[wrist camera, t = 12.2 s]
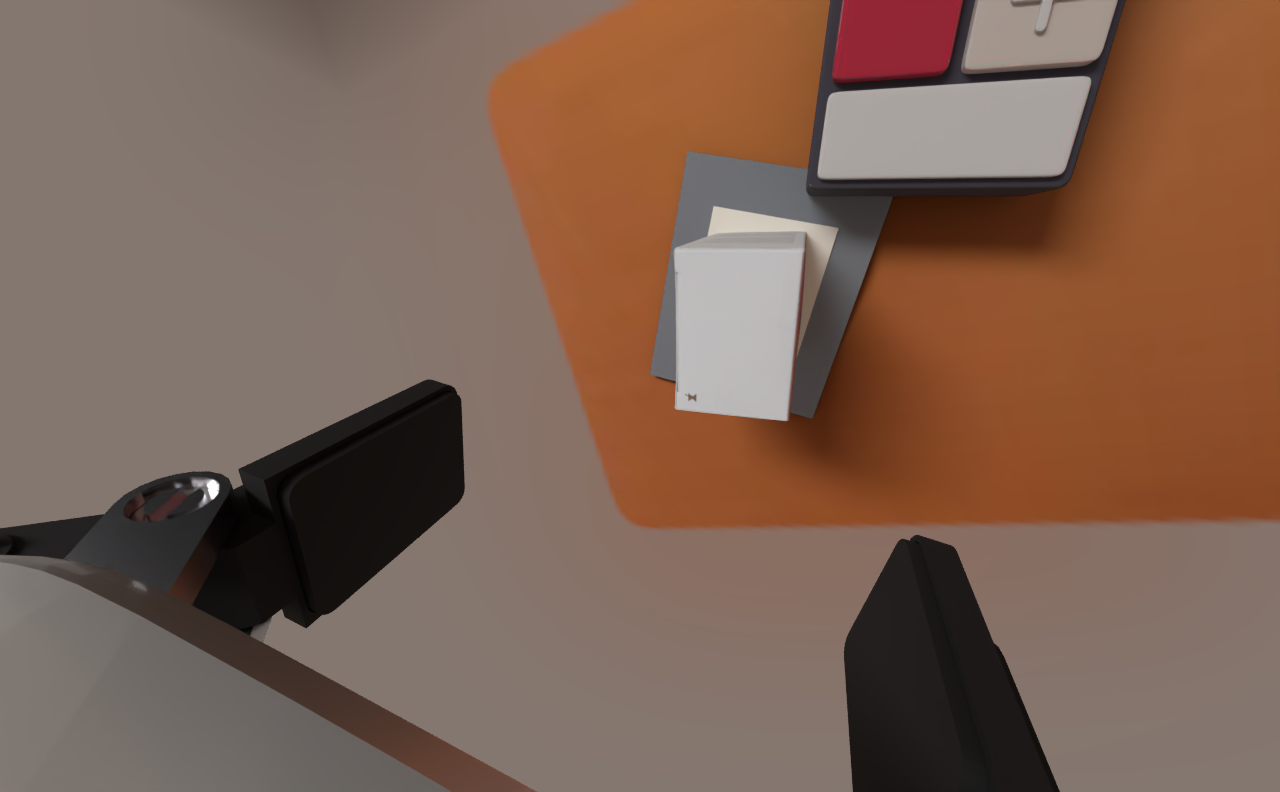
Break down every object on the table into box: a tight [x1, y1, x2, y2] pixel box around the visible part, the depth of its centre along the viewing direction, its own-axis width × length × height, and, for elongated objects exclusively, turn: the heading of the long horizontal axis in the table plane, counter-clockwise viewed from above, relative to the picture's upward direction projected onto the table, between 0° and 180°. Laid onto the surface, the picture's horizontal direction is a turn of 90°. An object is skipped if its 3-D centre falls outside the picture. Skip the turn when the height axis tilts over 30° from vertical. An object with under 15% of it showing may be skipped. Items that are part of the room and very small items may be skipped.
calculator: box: [806, 0, 1125, 196], centre depth 20 cm, size 11×4×15 cm
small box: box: [674, 231, 807, 421], centre depth 25 cm, size 8×6×10 cm
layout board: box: [650, 151, 893, 419], centre depth 30 cm, size 12×15×1 cm
